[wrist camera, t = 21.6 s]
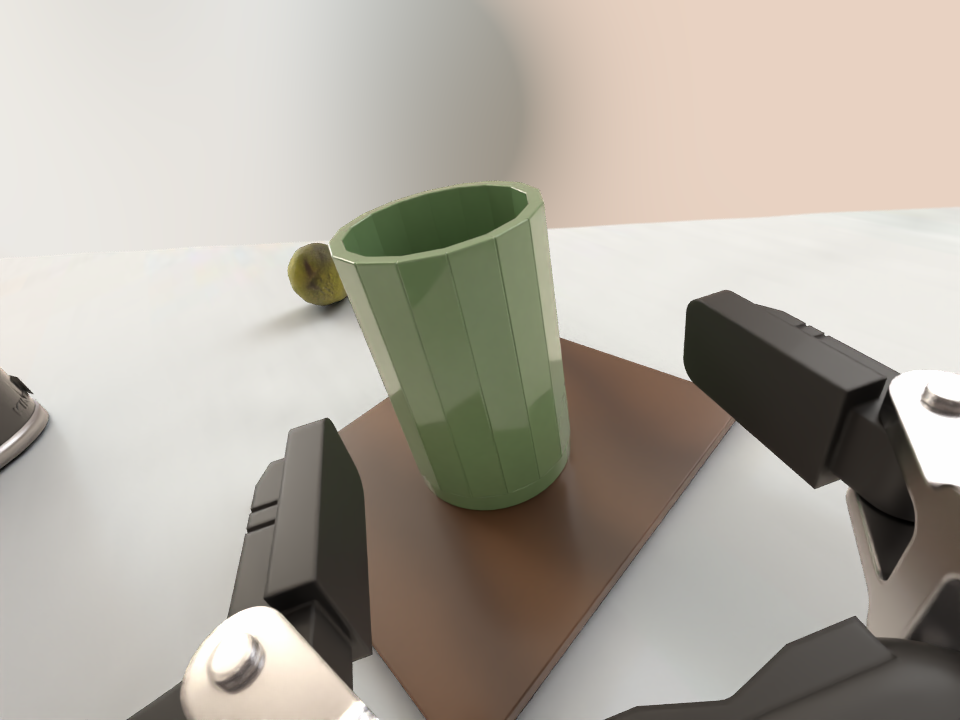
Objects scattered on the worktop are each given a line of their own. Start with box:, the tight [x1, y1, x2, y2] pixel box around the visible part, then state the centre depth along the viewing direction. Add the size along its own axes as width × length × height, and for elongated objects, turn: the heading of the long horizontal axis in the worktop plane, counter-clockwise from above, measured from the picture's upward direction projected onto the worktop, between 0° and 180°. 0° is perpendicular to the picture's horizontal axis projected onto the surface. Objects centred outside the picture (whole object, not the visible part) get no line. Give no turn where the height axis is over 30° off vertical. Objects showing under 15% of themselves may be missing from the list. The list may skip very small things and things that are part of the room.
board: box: [338, 338, 736, 720], centre depth 20 cm, size 16×14×1 cm
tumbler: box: [328, 181, 571, 511], centre depth 16 cm, size 6×6×10 cm
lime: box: [288, 243, 347, 306], centre depth 35 cm, size 4×5×5 cm
